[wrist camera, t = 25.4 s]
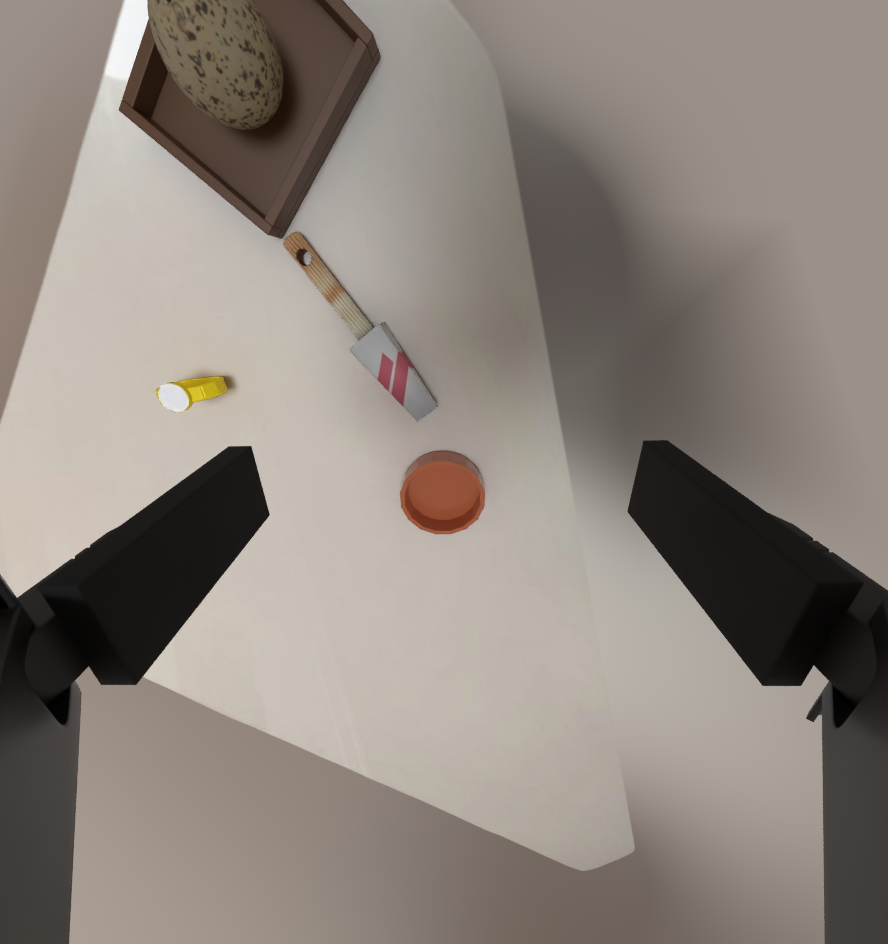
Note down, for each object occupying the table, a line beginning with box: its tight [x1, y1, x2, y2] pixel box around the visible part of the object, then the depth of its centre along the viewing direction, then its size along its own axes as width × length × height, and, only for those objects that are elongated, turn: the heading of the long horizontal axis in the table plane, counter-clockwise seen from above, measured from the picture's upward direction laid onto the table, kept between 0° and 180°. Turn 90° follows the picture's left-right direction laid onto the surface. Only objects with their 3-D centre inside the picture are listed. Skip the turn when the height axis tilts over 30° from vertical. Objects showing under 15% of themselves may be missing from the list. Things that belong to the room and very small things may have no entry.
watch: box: [156, 376, 227, 412], centre depth 38 cm, size 6×3×6 cm, turn 96°
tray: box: [119, 0, 380, 239], centre depth 29 cm, size 16×13×3 cm
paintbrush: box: [283, 231, 438, 421], centre depth 37 cm, size 4×3×20 cm
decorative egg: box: [148, 0, 283, 130], centre depth 25 cm, size 7×7×10 cm
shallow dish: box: [400, 451, 485, 534], centre depth 45 cm, size 10×10×3 cm
